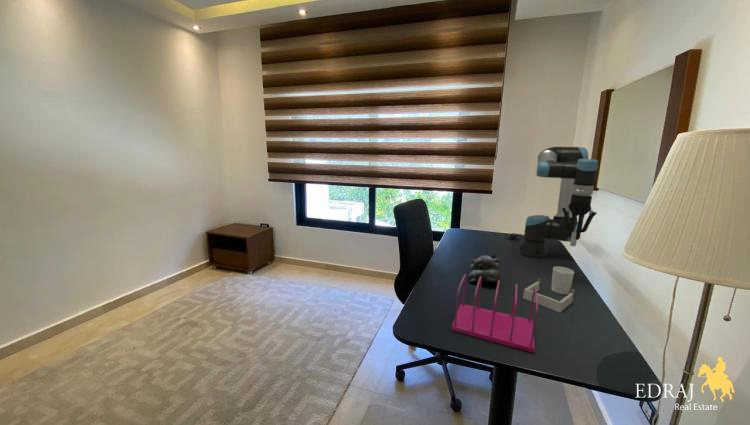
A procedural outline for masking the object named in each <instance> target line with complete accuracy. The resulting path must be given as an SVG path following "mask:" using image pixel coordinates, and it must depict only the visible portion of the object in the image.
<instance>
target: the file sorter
mask: <svg viewBox="0 0 750 425" xmlns="http://www.w3.org/2000/svg"><path fill="white" fill-rule="evenodd" d="M482 282H483V281H482V277H481V276H480V278H479V281H477V283H476V284H477V285H476V287H475V292H474V299H473V305H468V304H466V303H465V294H466V286H467V285H466V284H467V274H464V275H463V277H462V279H461V281H460V283H459V285H458V288H457V293H456V305H455V314H454V319H453V322H452V325H451V329H450V330H451V331H452V332H456V333H460V334H464V335H467V336H472V337H474V338H477V339H481V340H485V341H490V342H493V343H496V344H500V345H504V346H507V347H511V348H514V349H519V350H521V351H522V350H523V351H524V352H528V353H532V354H534V353H535V349H536V348H535V347H536V346H535V337H534V336H535V330H536V325H537V318H538V312H539V304H538V298H537V293H538V291H537V289H536V288H535V287H534V290H533V296H532V302H531V301H530V308H529V316H528V318H525V317H520V316H516V310H517V302H518V283H515V285H514V286H515V287H514V292H513V300H512V305H511V314H507V313H503V312H499V311H497V303H498V298H499V290H500V283H501V279H500V280H498V282H497V285H496V290H495V293H494V294H495V295H494V300H493V301H494V302H493V308H492V309H493V310H490V309H488V308H487V309H486V308H482V307H480V306H481V305H480V302H481V292H482V291H481V290H482ZM462 286H463V291H462V300H461V302H462V303H460V304H459V299H460V298H459V297H460V291H461V288H462ZM478 289H479V290H478ZM477 295H478V298H477ZM534 295H535V300H536V303H535V311H534V312H535V314H534V320H532V312H533V306H534V302H533V301H534ZM477 299H478V300H477ZM464 303H465V304H464ZM476 304H477V306H476Z"/></svg>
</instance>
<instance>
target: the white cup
mask: <svg viewBox="0 0 750 425" xmlns="http://www.w3.org/2000/svg"><path fill="white" fill-rule="evenodd" d="M574 275H575V271H574V270H573V269H571V268H568V267H565V266H553V267H552V274H551V288H550V289H551V291H552V292H553V293H555V294H559V295H564V296H565V295H566V296H567V295H568V294H570V291H571V288H572V285H573V284H572V283H573V280H574Z"/></svg>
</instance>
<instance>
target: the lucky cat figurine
mask: <svg viewBox="0 0 750 425" xmlns="http://www.w3.org/2000/svg"><path fill="white" fill-rule="evenodd" d="M500 264H501V263H500V259H499V258H496V256H495V254H491V255H478V256H477V257H476V258H472V259H471V260H470V273H469V274H468V280H469V282H470V283H471V282H472V283H473V282H478V281H479V278H480V276H481V277H482V281H481V282H489V283H495V284H496V283H497V284H498V280H500V281H501V276H500V273H499V270H500Z"/></svg>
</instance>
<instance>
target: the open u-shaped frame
mask: <svg viewBox="0 0 750 425" xmlns="http://www.w3.org/2000/svg"><path fill="white" fill-rule="evenodd" d="M541 281H542V279H541V278H537V281H536V282H534V283H532V284H530V285H529V286H527V287H526V288H524V290H523V295H522V296H523V297H522V299H524V300H527V301H529V302H530V303H531V302H532V296H533V290H534V287H535V288H536V289H537V298H538V306H539V305H540V306H543V307H544V308H546V309H549V310H551V311H554V312H557V313H562V312H563V311H564V310H565V309H566V308H567V307H569V306H570V305H571V304H572V303H573V302H574V298H575V297H574V296H575V292H576V291H575V289H570V292H569V294H567V295H566V296H565V297H563V298H562V299H561V300H560V301H559V300H557V299H554V298H551V297H550V296H546V295H543V294H541V293H538V291H540V288H541ZM533 304H536V300H535V295H534V301H533Z"/></svg>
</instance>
